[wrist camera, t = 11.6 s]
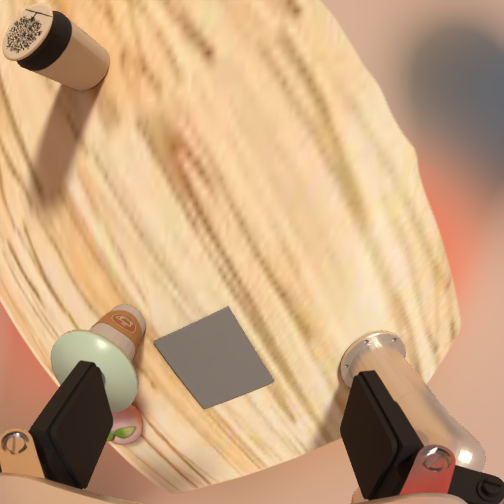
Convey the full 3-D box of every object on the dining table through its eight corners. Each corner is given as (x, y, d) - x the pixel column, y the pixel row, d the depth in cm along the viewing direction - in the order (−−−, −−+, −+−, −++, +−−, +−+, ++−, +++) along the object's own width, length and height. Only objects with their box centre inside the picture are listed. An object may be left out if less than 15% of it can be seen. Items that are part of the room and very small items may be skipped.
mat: (273, 379, 52) (274, 381, 51) (204, 406, 53) (204, 408, 53) (228, 306, 48) (228, 307, 48) (154, 340, 49) (153, 342, 49)
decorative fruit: (126, 426, 54) (113, 460, 45) (99, 399, 53) (81, 432, 43) (158, 413, 53) (147, 450, 44) (130, 384, 52) (114, 419, 42)
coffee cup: (161, 315, 48) (134, 369, 34) (139, 351, 50) (111, 407, 35) (117, 287, 47) (75, 330, 32) (98, 324, 49) (59, 372, 34)
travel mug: (87, 99, 40) (20, 72, 22) (59, 77, 38) (-9, 48, 21) (120, 58, 38) (65, 12, 21) (89, 38, 37) (32, -6, 20)
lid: (157, 394, 35) (147, 423, 30) (92, 415, 36) (79, 441, 31) (98, 314, 32) (77, 337, 27) (39, 347, 33) (18, 369, 28)
